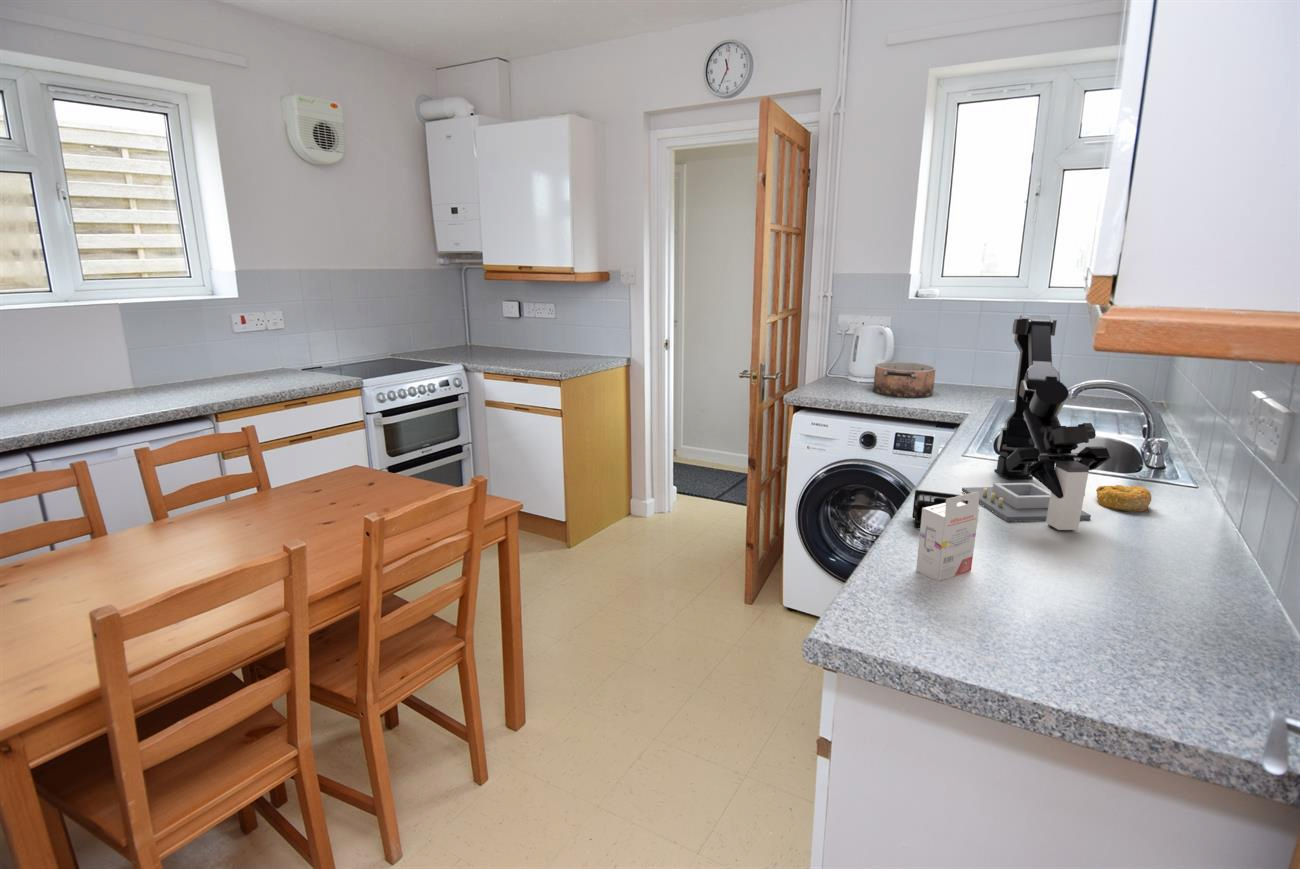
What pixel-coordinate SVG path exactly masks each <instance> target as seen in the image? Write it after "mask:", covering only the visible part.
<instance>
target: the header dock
mask: <svg viewBox="0 0 1300 869" xmlns="http://www.w3.org/2000/svg"><path fill="white" fill-rule="evenodd" d="M962 491H963V492H965V493H966V494H970V493H974V492H979V504H980V503H981V504H982V505H981V504H980V505H981V506H983V505H984V506H985V507H984V506H983V507H984V508H986V507H987V508H988V509H987V508H986V509H987V510H988V511H990V510H991V511H990V512H992V511H993V512H994V513H993V512H992V513H993V514H995V513H996V514H997V515H996V514H995V515H996V516H998V517H999V516H1000V517H999V518H1000V519H1002V518H1003V519H1002V520H1004V521H1005V522H1042V521H1043V522H1046V518H1047V512H1048V506H1049V500H1050V494H1051V491H1049V490H1048V491H1047V490H1046V489H1044V488H1043V487H1041V486H1038V485H1037V484H1035V483H1033V482H1006V483H1005V482H1002V483H999V482H997V483H996V482H995V483H993V484H992V486H986V487H985V486H983V487H982V486H981V487H978V486H977V487H975V486H974V487H962V489H961V492H962ZM963 492H962V493H963ZM965 493H964V494H965ZM1091 518H1092V515H1091V514H1089V513H1088V512H1085V511H1084V510H1083V509H1082V510H1081V516H1080V521H1089V520H1091Z"/></svg>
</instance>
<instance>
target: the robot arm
mask: <svg viewBox="0 0 1300 869" xmlns="http://www.w3.org/2000/svg"><path fill="white" fill-rule="evenodd" d="M1056 328H1057V320H1055V319H1050V315H1037V314H1033V315H1030V314H1020V316H1019V318H1016V319H1014V320H1013V323H1012V334H1013V335H1014V339H1013V340H1014V344H1015V345H1016V347H1017V349H1018V350H1019V359H1018V360H1019V361H1018V370H1017V375H1016V376H1017V378H1016V385H1015V395H1014V402H1013V410H1012V413H1011V414H1010V415H1009V416H1008V417H1007V418H1006V419H1005V421H1004V425H1003V426H1004V427H1001V430H1000V432H999V434H998V438H997V446H996V447H997V450H998V453H1000V454H999V456H998V459H997V465H996V468H994V472H995V473H997V474H998V475H1000V476H1002V477H1004V478H1006V479H1007V480H1022V479H1023V480H1025V479H1026V480H1027V479H1029V480H1030V479H1031V480H1033V479H1035V480H1037V481H1038V482H1039V483H1041V484H1042V485H1043V486H1044V487H1046V489H1048V491H1049V492H1050V493H1051V492H1052V493H1053V494H1054V495H1055V496H1057V497H1058V498H1062V497H1063V492H1062V488H1061V486H1060V483H1059V480H1058V478H1057V475H1056V472H1055V465H1056V461H1077V462H1079V463H1081V464H1083V465H1086V466H1088V467H1089V471H1093V470H1096V469H1097V468H1099V467H1100V466H1101V465H1103V464H1105V462H1107V461H1108V460H1110V459H1111V458H1112V456H1111V454H1110V452H1109V450H1108V448H1107V447H1105V446H1101V445H1099V446H1085V447H1084V448H1082V449H1081V450H1080V451H1079V452H1078V453H1077V452H1075V453H1074V452H1072V451H1073V450H1074V451H1075V450H1076V449H1078V448H1079V444H1083V443H1084V444H1087V443H1090V440H1094V439H1095V438H1096V437H1097V436H1096V434H1097V433H1096V429H1095V427H1094V425H1093V424H1092V422H1082V423H1079V424H1077V425H1075V426H1074V425H1073V426H1069V425H1068V426H1067V425H1061V422H1060V420H1059V417H1058V416H1059V415H1060V413H1061V411H1062V409H1063V407H1064V406H1065V403H1066V401H1067V398H1069V390H1068V388H1067V386H1066V385H1065V384H1064V383H1063V382H1061V378H1060V377H1061V376H1060V372H1059V370H1058V369H1056V368H1055V367H1054V365H1053V357H1052V356H1053V354H1052V352H1053V351H1052V336H1053V337H1055V335H1056ZM1085 495H1086V493H1085V494H1084V497H1085Z"/></svg>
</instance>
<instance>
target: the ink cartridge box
mask: <svg viewBox="0 0 1300 869" xmlns="http://www.w3.org/2000/svg"><path fill="white" fill-rule="evenodd" d="M959 495H960V496H956V497H952V498H948V499H946V503H942V504H938V505H934V506H929V507H925V508H922V516H921V527H920V529H919V537H918V538H919V540H918V548H917V558H916V565H915V567H916V568H915V570H916V571H917V572H918V573H920V574H922V575H925V576H926V577H929V578H930V579H932V580H935V581H937V582H941V581H944V580H947V579H950V578H953V577H956V576H960V575H962V574H966V573H969V572H970V571H971V570H972V566H973V558H974V557H973V556H974V551H975V545H976V544H975V543H976V537H977V529H978V520H979V515H980V514H979V512H980V509H979V507H980V503H979V492H974V493H970V494H965V493H964V494H959ZM962 500H964V501H968V504H965V503H962V502H961V501H962Z"/></svg>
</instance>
